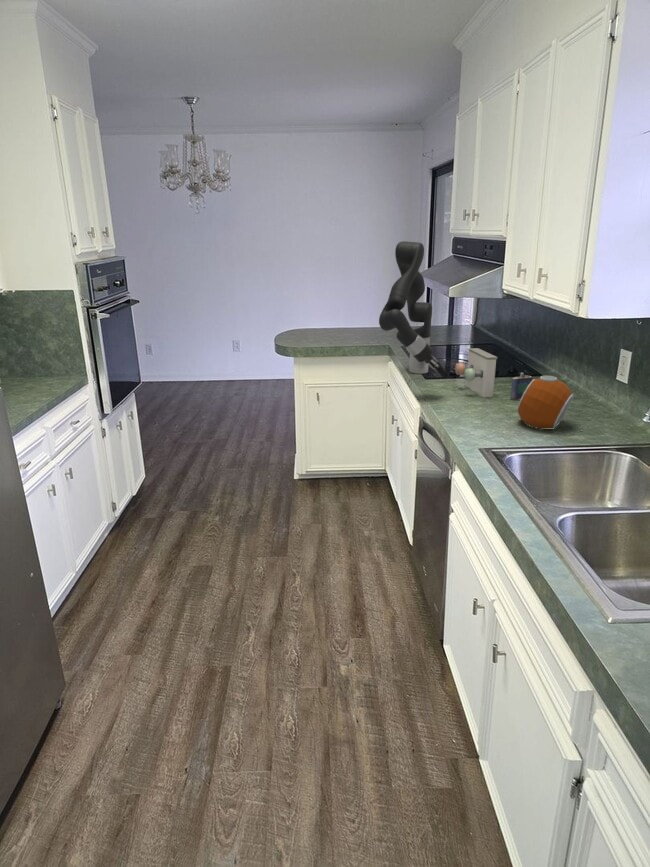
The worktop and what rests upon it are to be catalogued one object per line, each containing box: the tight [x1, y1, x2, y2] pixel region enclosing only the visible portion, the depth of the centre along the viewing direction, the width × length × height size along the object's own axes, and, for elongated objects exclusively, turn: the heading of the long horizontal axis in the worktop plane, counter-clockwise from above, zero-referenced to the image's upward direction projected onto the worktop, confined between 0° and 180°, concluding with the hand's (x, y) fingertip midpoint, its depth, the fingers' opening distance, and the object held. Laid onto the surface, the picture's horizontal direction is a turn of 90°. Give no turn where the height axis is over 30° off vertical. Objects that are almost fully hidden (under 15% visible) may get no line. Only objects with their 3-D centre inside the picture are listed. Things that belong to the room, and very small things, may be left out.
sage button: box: [463, 368, 483, 382], centre depth 241 cm, size 5×8×5 cm, turn 100°
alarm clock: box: [516, 375, 574, 429], centre depth 206 cm, size 19×18×17 cm
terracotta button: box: [454, 362, 473, 376], centre depth 250 cm, size 5×8×5 cm, turn 100°
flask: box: [509, 372, 533, 400], centre depth 238 cm, size 9×3×11 cm, turn 109°
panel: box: [465, 347, 498, 398], centre depth 247 cm, size 19×4×17 cm, turn 10°
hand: (445, 376), depth 239 cm, fingers closed
